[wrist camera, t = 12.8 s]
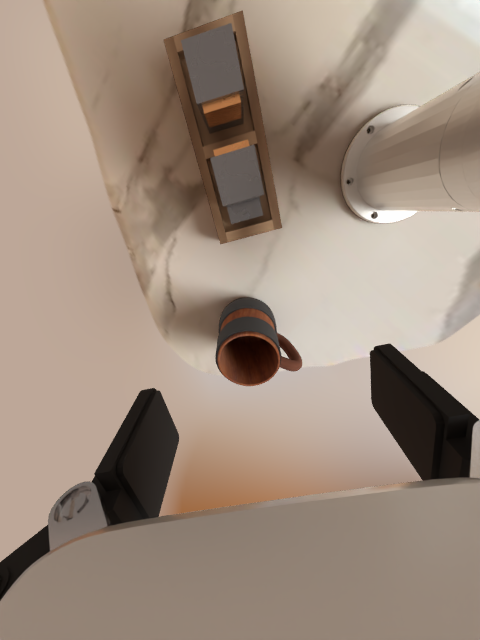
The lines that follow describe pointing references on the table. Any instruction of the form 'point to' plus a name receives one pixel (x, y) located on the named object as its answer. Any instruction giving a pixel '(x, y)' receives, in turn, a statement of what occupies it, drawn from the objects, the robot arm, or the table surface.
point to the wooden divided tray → (227, 132)
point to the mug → (252, 344)
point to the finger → (216, 77)
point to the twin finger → (238, 180)
